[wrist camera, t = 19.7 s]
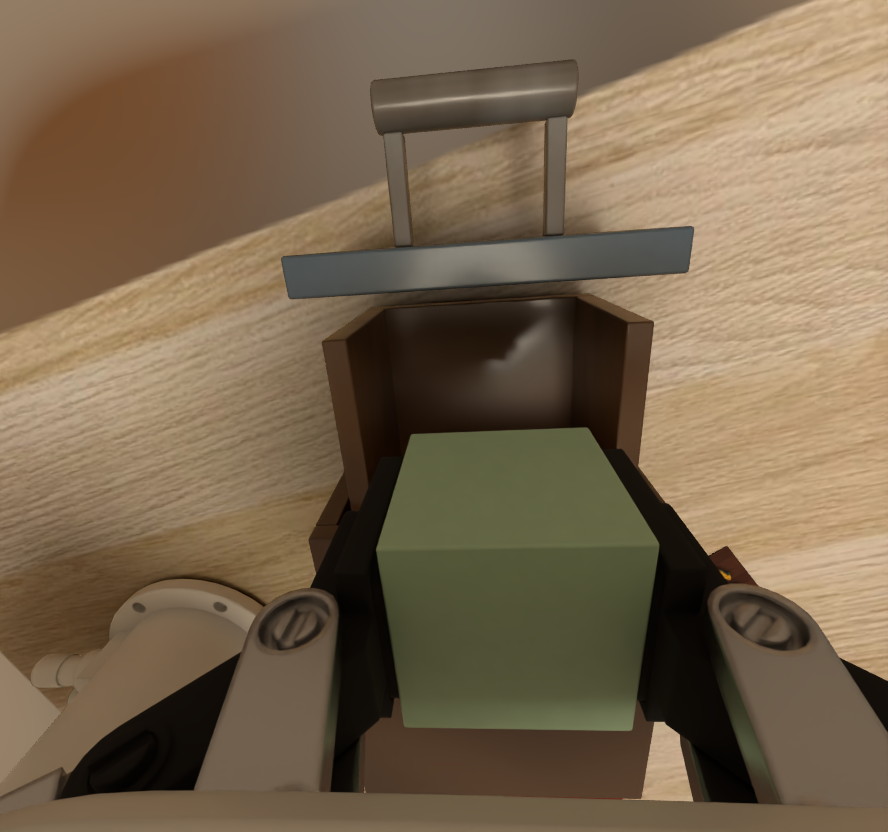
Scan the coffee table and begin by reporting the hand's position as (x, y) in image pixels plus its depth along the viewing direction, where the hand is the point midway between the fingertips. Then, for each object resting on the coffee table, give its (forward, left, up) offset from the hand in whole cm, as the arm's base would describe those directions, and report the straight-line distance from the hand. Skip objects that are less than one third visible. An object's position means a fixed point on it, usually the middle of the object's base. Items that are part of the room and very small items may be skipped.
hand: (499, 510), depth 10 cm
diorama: (+13, -15, -13) cm, 24 cm away
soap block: (0, 0, 0) cm, 0 cm away
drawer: (0, +2, -12) cm, 12 cm away
